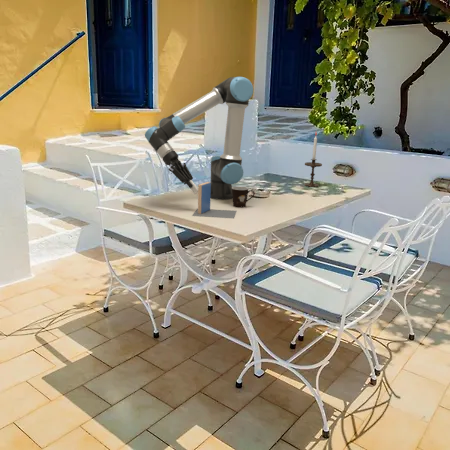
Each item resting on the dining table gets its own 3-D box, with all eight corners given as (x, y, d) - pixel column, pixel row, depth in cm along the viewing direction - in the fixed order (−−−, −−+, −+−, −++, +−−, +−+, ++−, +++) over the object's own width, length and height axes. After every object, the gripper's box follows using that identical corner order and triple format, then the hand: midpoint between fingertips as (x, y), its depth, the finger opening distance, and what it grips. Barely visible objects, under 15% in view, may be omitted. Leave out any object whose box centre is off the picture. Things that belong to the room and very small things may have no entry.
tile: (206, 209, 233) (207, 181, 229) (210, 210, 232) (211, 182, 228) (197, 213, 225) (198, 184, 221) (201, 214, 224) (202, 185, 220)
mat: (197, 209, 234) (197, 208, 234) (236, 211, 232) (236, 210, 232) (191, 217, 220) (191, 215, 220) (234, 219, 219) (234, 218, 218)
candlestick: (304, 183, 309) (308, 129, 300) (321, 185, 306) (325, 130, 296) (301, 186, 299) (306, 131, 290) (318, 188, 296) (323, 132, 286)
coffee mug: (230, 208, 238) (230, 189, 236) (232, 204, 247) (232, 186, 244) (252, 210, 237) (253, 190, 234) (254, 206, 245) (255, 187, 242)
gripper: (170, 158, 237) (198, 194, 235) (156, 161, 226) (185, 199, 223) (179, 148, 233) (208, 185, 231) (165, 151, 222) (195, 189, 220)
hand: (196, 192), depth 227 cm, fingers closed
